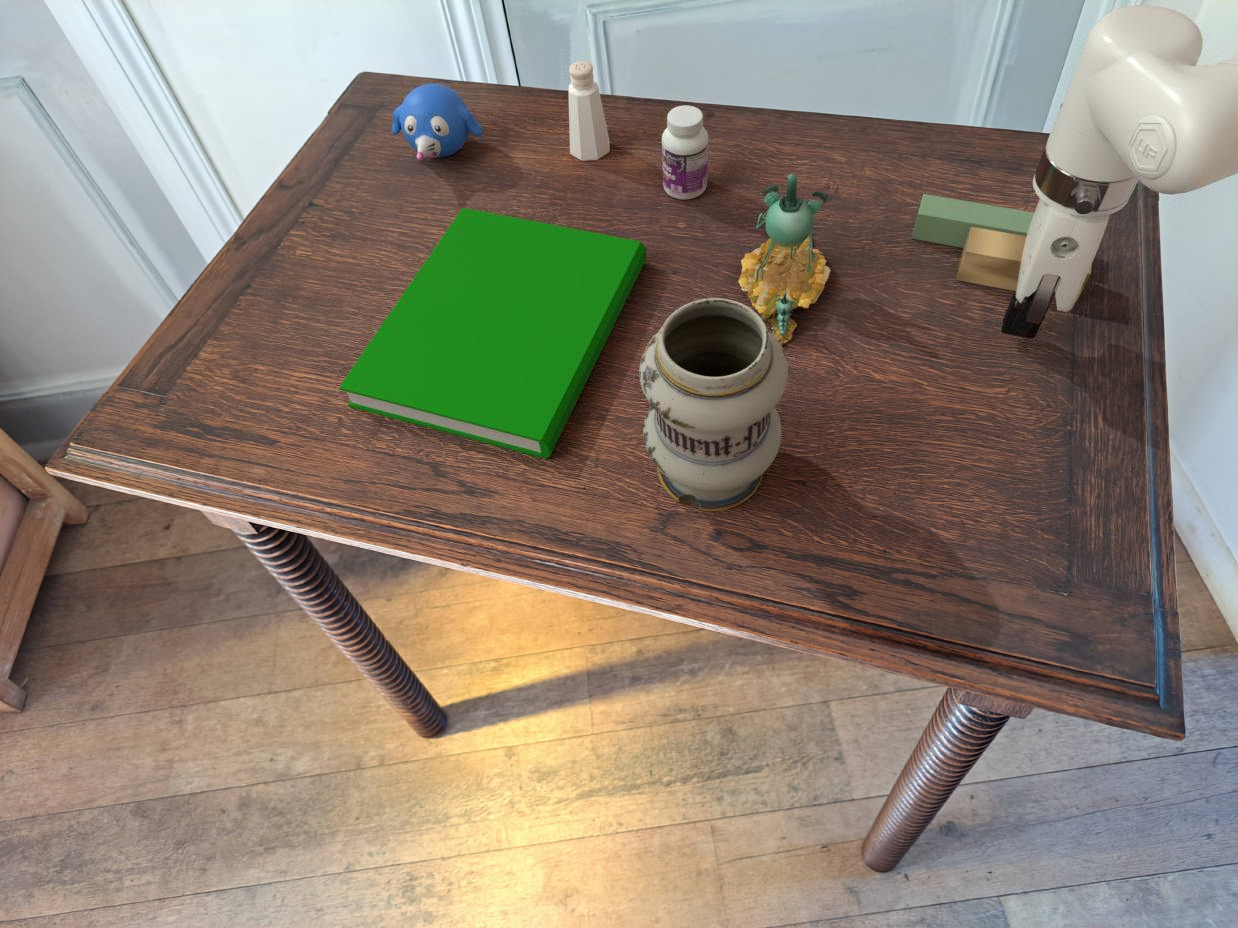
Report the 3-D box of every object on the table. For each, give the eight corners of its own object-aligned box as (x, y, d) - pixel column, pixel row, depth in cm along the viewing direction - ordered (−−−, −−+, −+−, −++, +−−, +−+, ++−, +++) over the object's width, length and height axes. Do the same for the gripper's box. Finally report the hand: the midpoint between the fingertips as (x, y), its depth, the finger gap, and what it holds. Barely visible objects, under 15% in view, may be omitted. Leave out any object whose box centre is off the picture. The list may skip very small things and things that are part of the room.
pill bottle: (653, 185, 103) (650, 114, 95) (688, 167, 105) (688, 95, 97) (681, 208, 101) (680, 136, 93) (716, 189, 102) (718, 116, 94)
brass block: (1078, 277, 90) (1093, 247, 87) (1076, 303, 88) (1091, 274, 85) (960, 255, 93) (970, 226, 90) (955, 280, 91) (965, 251, 88)
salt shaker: (577, 167, 106) (567, 85, 97) (562, 143, 109) (550, 61, 100) (617, 154, 107) (611, 71, 98) (601, 131, 110) (593, 49, 101)
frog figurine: (711, 334, 89) (717, 210, 78) (758, 238, 100) (770, 117, 89) (801, 355, 86) (822, 229, 75) (840, 254, 97) (863, 131, 86)
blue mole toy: (382, 187, 107) (360, 127, 100) (408, 129, 114) (389, 70, 107) (474, 190, 105) (459, 129, 98) (495, 131, 112) (482, 71, 105)
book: (348, 406, 87) (338, 387, 84) (468, 228, 101) (462, 207, 99) (551, 460, 81) (546, 441, 79) (646, 263, 96) (645, 242, 93)
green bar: (1066, 245, 93) (1078, 220, 90) (1064, 267, 91) (1076, 241, 88) (916, 218, 97) (923, 193, 94) (911, 239, 95) (917, 213, 92)
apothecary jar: (627, 502, 78) (613, 374, 63) (669, 403, 84) (664, 266, 69) (756, 538, 75) (772, 412, 60) (789, 433, 81) (812, 295, 66)
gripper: (1132, 240, 65) (1050, 394, 80) (1141, 127, 73) (1065, 287, 88) (1028, 222, 67) (967, 376, 82) (1047, 114, 75) (988, 273, 90)
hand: (1018, 330), depth 85 cm, fingers closed
